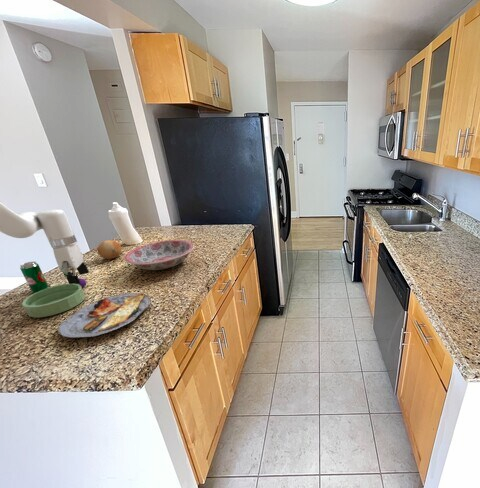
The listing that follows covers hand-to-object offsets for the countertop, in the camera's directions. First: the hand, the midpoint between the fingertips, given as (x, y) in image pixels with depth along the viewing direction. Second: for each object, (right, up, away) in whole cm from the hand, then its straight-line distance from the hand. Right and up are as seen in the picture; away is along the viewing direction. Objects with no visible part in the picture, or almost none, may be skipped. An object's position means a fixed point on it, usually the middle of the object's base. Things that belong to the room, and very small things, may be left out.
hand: (80, 278), depth 109 cm
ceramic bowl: (+23, +4, +20) cm, 31 cm away
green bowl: (+2, -9, -11) cm, 14 cm away
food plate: (+27, -11, -18) cm, 35 cm away
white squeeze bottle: (-15, +15, +48) cm, 53 cm away
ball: (0, -2, 0) cm, 2 cm away
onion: (-9, +7, +28) cm, 30 cm away
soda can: (-16, -5, 0) cm, 17 cm away
